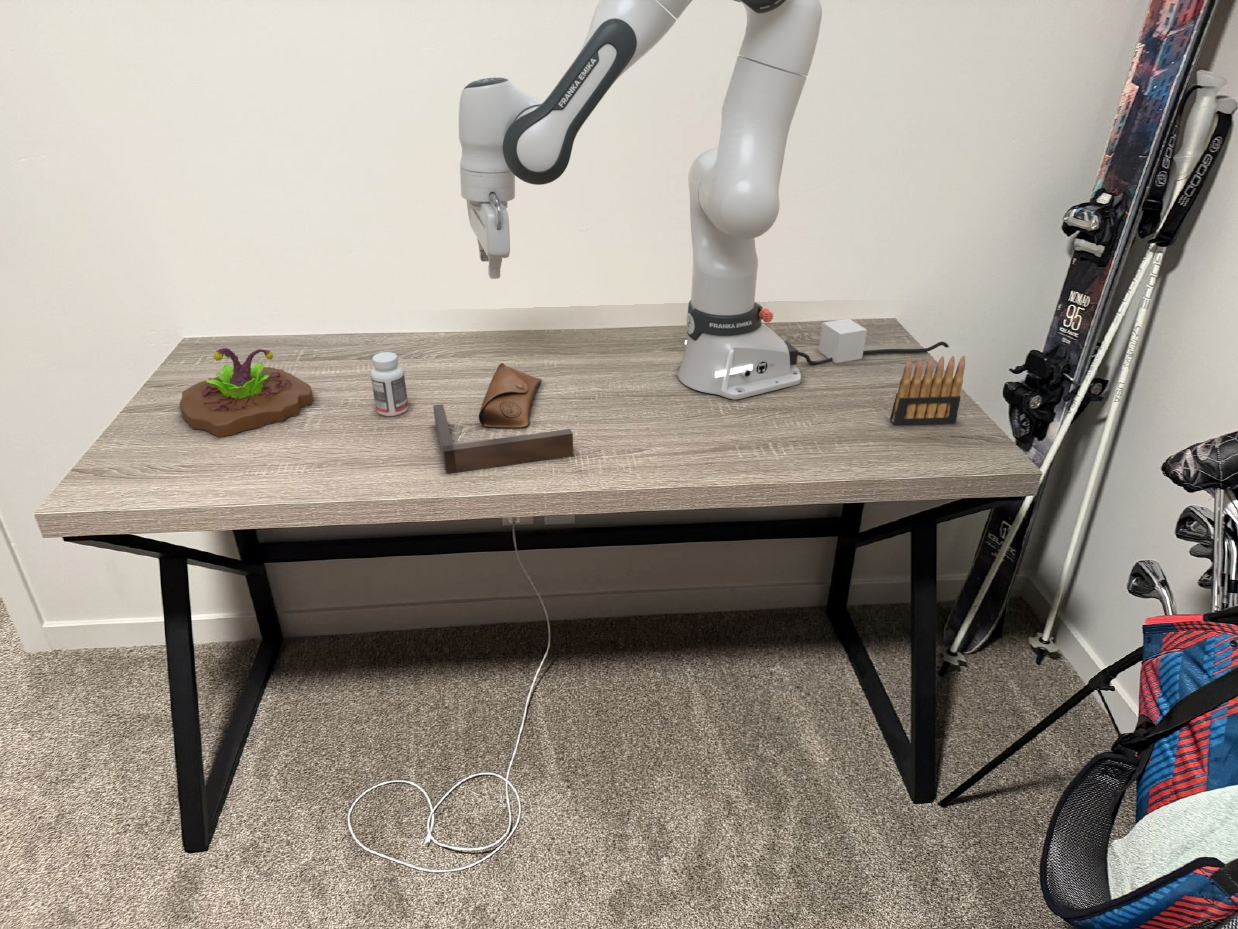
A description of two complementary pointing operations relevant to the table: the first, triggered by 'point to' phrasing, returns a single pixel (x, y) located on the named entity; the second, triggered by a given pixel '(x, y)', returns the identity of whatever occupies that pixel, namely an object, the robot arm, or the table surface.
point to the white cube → (842, 340)
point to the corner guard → (499, 448)
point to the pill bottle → (388, 385)
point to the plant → (243, 397)
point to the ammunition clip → (928, 394)
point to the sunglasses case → (508, 399)
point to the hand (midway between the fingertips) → (489, 268)
